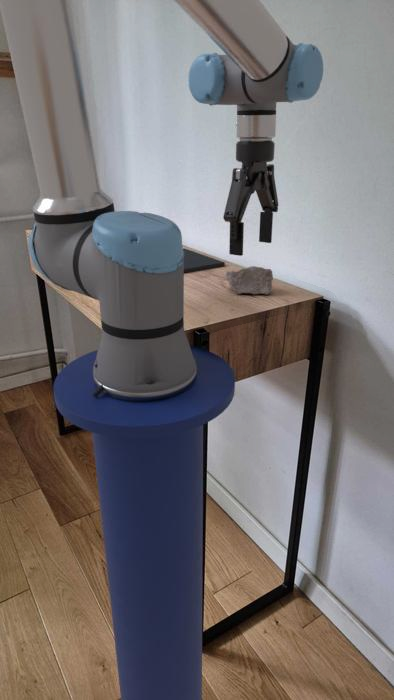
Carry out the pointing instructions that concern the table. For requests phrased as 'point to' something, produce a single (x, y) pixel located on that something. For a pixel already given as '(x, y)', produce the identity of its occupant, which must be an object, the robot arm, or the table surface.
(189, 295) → the table surface
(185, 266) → the edge mat
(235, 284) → the stone
